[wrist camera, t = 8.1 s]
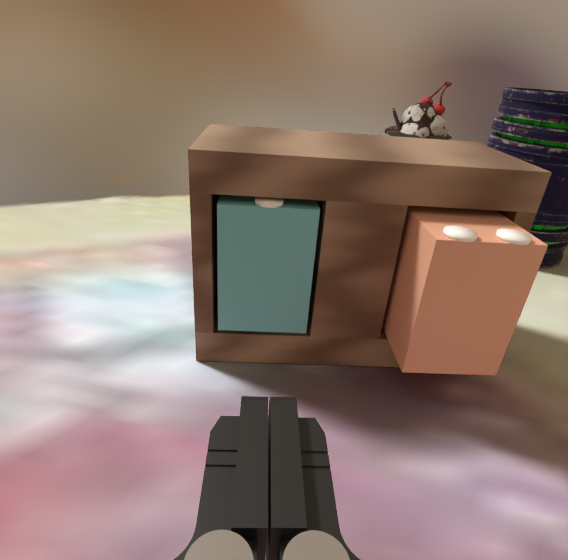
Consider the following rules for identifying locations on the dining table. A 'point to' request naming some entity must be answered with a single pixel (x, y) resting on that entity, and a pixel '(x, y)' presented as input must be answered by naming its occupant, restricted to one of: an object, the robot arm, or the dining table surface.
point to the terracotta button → (458, 289)
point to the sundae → (422, 120)
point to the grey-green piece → (265, 262)
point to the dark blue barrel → (539, 156)
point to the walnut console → (339, 225)
